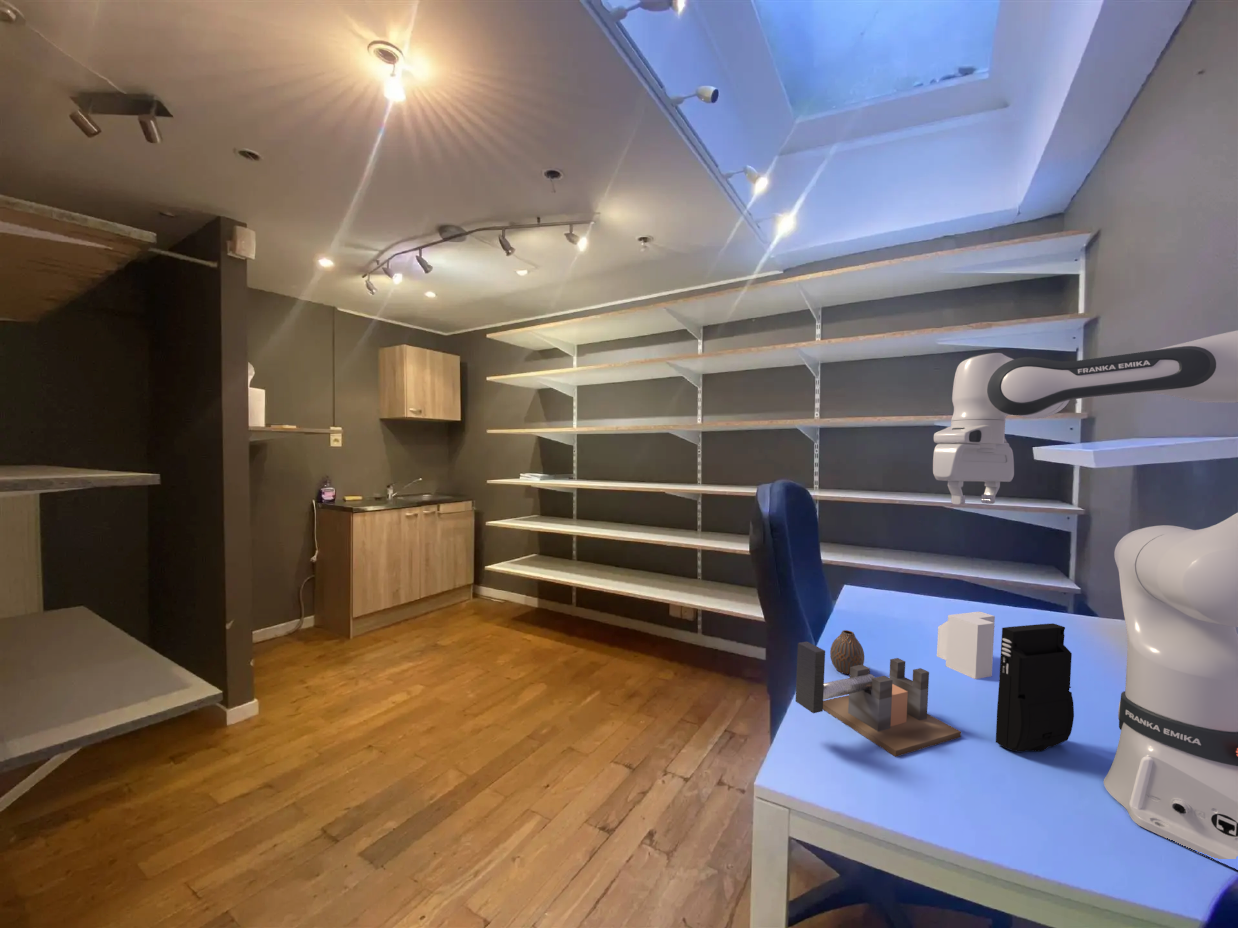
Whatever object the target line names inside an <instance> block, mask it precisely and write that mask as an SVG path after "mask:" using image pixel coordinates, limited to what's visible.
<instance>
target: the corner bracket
mask: <svg viewBox="0 0 1238 928" xmlns="http://www.w3.org/2000/svg"><path fill="white" fill-rule="evenodd" d="M995 621H996V616H995V615H992V614H989V613H985V612H982V611H973V612H963V613H954V614H948V615H947V620H946V621H945V622H943V623H942V624H940V625H938V627H937V643H936V645H937V646H936V657H937V658H940V659H942V660H944V661H945V667H947V668H949V669H951V670H952V671H956V672H957V673H960V674H961V675H965V676H967V677H969V678H972V679H973V680H978V679H984V678H990V677H992V676H993V662H994V661H993V659H994V658H993V657H994V642H995V641H994V640H995Z"/></svg>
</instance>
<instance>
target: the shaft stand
mask: <svg viewBox="0 0 1238 928" xmlns="http://www.w3.org/2000/svg"><path fill="white" fill-rule="evenodd" d="M870 670H871V669H870V667H868V666H865V665H864V664H863V665H858V666H853V667H850V675H849V678H852V677H857V676H862V675H867V674H870ZM874 677H875V676H874ZM929 677H930V671H928V670H925V669H923V668H921V667H918V668H916V669H915V668H914V669H912V679H909V678H907V677H906V661H905V660H904V659H901V658H899V657H896V658H891V659H889V676H886V675H881V676H876V677H875V678H872V689H870V690H866V691H861V692H857V693H852V694H847V695H843V696H838V697H834V698H829V699H825V700H823V711H824V712H826V713H827V714H830V715H831V716H832V717H834V718H835V719H837V720H839V721H840V722H842V723H843V724H844V725H846V726H847V727H849V728H851V729H852V730H854V731H856V732H857V733H858V734H860V735H861V736H863V737H865V738H866V740H869V741H870V742H872V743H873V744H875V745H877V746H878V747H880V748H881V749H882V750H884V751H886V752H887V753H889V754H890V755H892V756H894V757H895V758H896V757H899V756H903V755H907V754H909V753H913V752H914V753H915V752H916V751H917V752H918V751H919V750H923V749H926V748H929V747H932V746H937V745H939V744H943V743H946V742H949V741H953V740H956V739H961V738H962V731H961V730H959V729H957V728H956V727H953V726H951V725H950V724H948V723H946V722H944V721H942V720H940V719H939V718H937V717H934V716H932V715H931V714H929V713H928V706H929V705H928V704H929V702H928V699H929V683H930V681H929V680H930V678H929ZM892 684H894V685H896V686H898V687H900V688H902V689H904V690H906V691H908V698H907V719H906V722H905V723H902V724H898V725H894V726H890V725H891V704H892Z"/></svg>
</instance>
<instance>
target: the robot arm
mask: <svg viewBox="0 0 1238 928" xmlns="http://www.w3.org/2000/svg"><path fill="white" fill-rule="evenodd" d="M952 386H953V387H952V396H951V401H952V405H953V413H952V417H951V420H950V426H947V427H945V428H943V429H941V430H939V431H937V432H934V434H933V442H934V443H935V444H936V445H935V447H934V450H933V457H932V458H933V459H932V473H933V476H934V478H935V480H936V481H944V482H947V487H948V490H949V492H950V493H949V494H950V495H951V503H952V504H953V505H965V504H966V495H963V494H964V493H963V490H962V488H963V487H964V482H984V487H985V489H984V493H983V494H981V497H980V498H981V503H982V504H985V505H986V504H988V505H989V504H990V505H992V504H995V502H996V495H997V493H998V491H999V489H1000V488H1001V482H1005V483H1006V482H1007V483H1009V482H1012V480H1013V478H1014V476H1015V461H1014V452H1013V449H1012V447H1011V446H1010V443H1008V441H1007V439H1006V437H1005V433H1006V418H1007V416H1011V415H1012V416H1019V417H1023V418H1028V419H1043V418H1047V417H1051V416H1054V415H1056V414H1058V413H1059V412H1062V410H1064V409H1065V408H1066V407H1067V406H1068V405H1069V403H1070V402H1071V400H1080V399H1088V398H1101V397H1110V396H1118V395H1119V396H1121V395H1130V394H1133V395H1134V394H1153V395H1154V394H1155V395H1163V396H1170V397H1175V398H1180V399H1183V400H1188V401H1192V402H1196V403H1214V404H1215V403H1216V404H1225V403H1226V404H1227V403H1229V404H1231V403H1232V404H1233V403H1235V404H1236V403H1238V329H1237V330H1233V331H1227V332H1224V333H1218V334H1213V335H1211V336H1205V337H1202V338H1198V339H1195V340H1190V341H1187V342H1181V343H1177V344H1174V345H1170V346H1165V347H1162V348H1157V349H1152V350H1147V351H1146V350H1145V351H1139V352H1133V353H1132V352H1131V353H1124V354H1118V355H1117V354H1116V355H1110V356H1101V357H1096V358H1095V357H1094V358H1087V359H1080V360H1079V359H1078V360H1070V361H1069V360H1067V361H1066V360H1065V361H1063V360H1061V361H1060V360H1053V359H1046V358H1041V357H1032V356H1025V357H1018V358H1015V359H1014V358H1012V357H1009V356H1008V355H1005V354H1003V353H1002V352H995V351H994V352H986V353H985V352H984V353H980V354H976V355H973V356H969V357H968V358H966V359H963V360H962V361H961V362H960V363H959V364H958V365H957V367H956V370H955V374H954V379H953V383H952ZM1113 554H1114V555H1113V557H1114V560H1115V564H1116V566H1117V570H1118V575H1119V585H1120V586H1119V587H1120V596H1121V603H1122V611H1123V615H1124V621H1125V628H1126V629H1125V630H1126V642H1127V644H1126V645H1127V647H1126V648H1127V649H1126V669H1125V671H1126V672H1125V690H1123V691H1121V693H1120V699H1119V702H1118V712H1117V713H1118V715H1117V716H1118V729H1119V730H1120V734H1119V740H1118V744H1117V747H1116V748H1117V749H1116V751H1115V755H1114V759H1113V760H1112V764H1111V765H1110V767H1109V770H1108V771H1107V774H1106V775H1105V777H1104V779H1103V785H1104V788H1105V789H1106V791H1107V793H1109V794H1110V796H1111V797H1112V798H1113V799H1115V800H1116V801H1117V803H1119V804H1120V805H1122V807H1124V809H1125V810H1126V811H1127V813H1128V815H1129V817H1130V818H1131V819H1132V821H1133V823H1135V824H1136V825H1138V826H1139V827H1142V828H1143V829H1145V830H1148V831H1149V832H1152V833H1153V834H1154V833H1155V834H1156V835H1158V836H1161V837H1162V838H1165V839H1167V838H1168V839H1167V840H1169V839H1170V840H1169V841H1171V840H1173V841H1175V842H1174V843H1176V842H1177V843H1176V844H1178V843H1179V845H1180V844H1181V845H1180V846H1182V845H1183V847H1184V846H1186V847H1185V848H1187V847H1188V848H1187V849H1189V848H1191V849H1193V850H1197V851H1198V852H1202V853H1204V854H1207V855H1209V856H1211V857H1214V858H1218V859H1236V857H1237V856H1238V631H1237V628H1238V512H1236V513H1234V514H1233V515H1231V516H1229V517H1228V518H1226V519H1224V520H1222V521H1220V522H1218V523H1217V524H1214V525H1211V526H1208V527H1205V528H1200V529H1191V528H1186V527H1183V526H1176V525H1163V524H1162V525H1154V526H1146V527H1143V528H1139V529H1136V530H1133V531H1130V532H1128V533H1127V534H1125V535H1124V536H1123V537H1122V538H1121V539H1120V540H1119V541H1118V542H1117V543H1116V546H1115V547H1114V553H1113ZM1173 841H1172V842H1173ZM1191 849H1190V850H1191ZM1193 850H1192V851H1193ZM1198 852H1197V853H1198Z"/></svg>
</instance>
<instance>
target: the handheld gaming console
mask: <svg viewBox="0 0 1238 928" xmlns="http://www.w3.org/2000/svg"><path fill="white" fill-rule="evenodd" d="M1065 630H1066V627H1065V626H1063V625H1060V624H1057V623H1040V624H1038V623H1037V624H1029V625H1027V624H1025V625H1017V626H1006V627H1002V628H1001V643H1000V658H999V659H1000V661H999V663H1000V664H999V677H998V695H997V704H996V705H997V709H996V724H995V725H996V726H995V743H996V744H997V745H999V746H1001V747H1003V748H1005V749H1008V750H1010V751H1012V752H1016V753H1017V752H1020V753H1021V752H1042V751H1045V750H1047V749H1048V748H1049V747H1051V748H1053V747H1055V746H1057V745H1059V744H1062V743H1064V742H1067V741H1068V740H1069V738H1070V736H1071V734H1072V730H1073V726H1074V719H1075V711H1074V709H1075V708H1074V699H1073V694H1072V693H1073V692H1072V691H1070V689H1071V688H1072V686H1071V676H1072V675H1071V674H1072V655H1073V654H1072V652H1071V651H1070V650H1069V648H1068V647H1067V646H1066V645H1065V644H1064V643H1065Z"/></svg>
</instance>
